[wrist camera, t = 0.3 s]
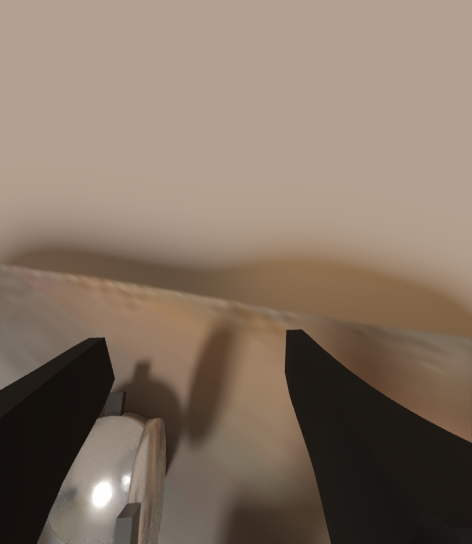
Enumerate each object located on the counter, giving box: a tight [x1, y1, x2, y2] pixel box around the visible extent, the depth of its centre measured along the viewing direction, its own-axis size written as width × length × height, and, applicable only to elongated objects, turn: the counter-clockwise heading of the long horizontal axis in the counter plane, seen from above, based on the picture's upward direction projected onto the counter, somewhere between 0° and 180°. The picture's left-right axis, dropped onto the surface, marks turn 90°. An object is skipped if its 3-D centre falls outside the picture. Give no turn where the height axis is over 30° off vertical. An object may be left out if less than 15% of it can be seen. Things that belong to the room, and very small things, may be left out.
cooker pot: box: [48, 392, 167, 544], centre depth 31 cm, size 17×12×5 cm
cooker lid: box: [113, 418, 166, 544], centre depth 22 cm, size 12×14×1 cm
